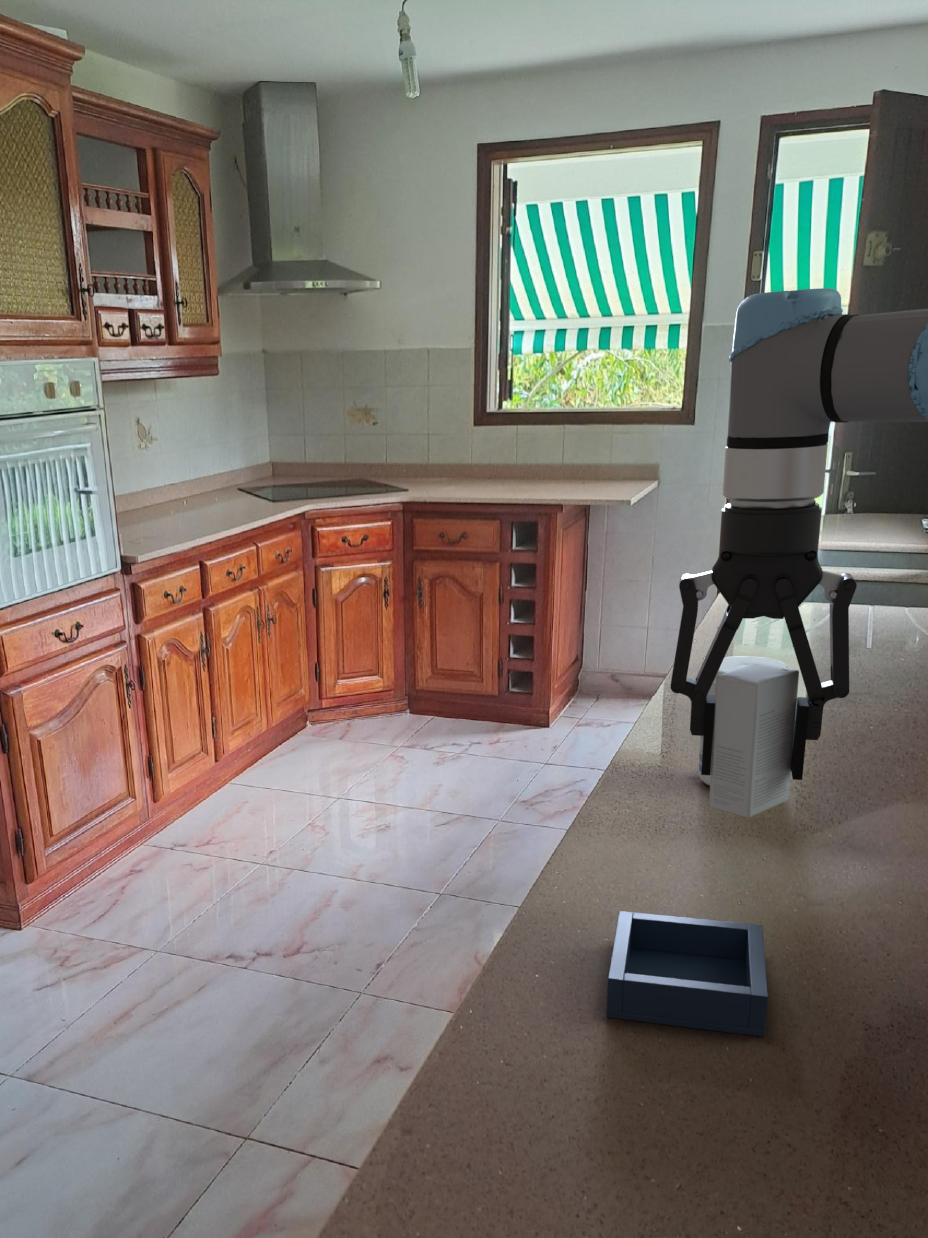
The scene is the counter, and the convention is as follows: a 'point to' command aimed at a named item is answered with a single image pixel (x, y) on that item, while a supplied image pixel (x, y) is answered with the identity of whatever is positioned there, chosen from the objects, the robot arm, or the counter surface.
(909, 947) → the counter surface
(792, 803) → the counter surface
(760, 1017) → the holder
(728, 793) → the cosmetic box
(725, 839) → the counter surface
